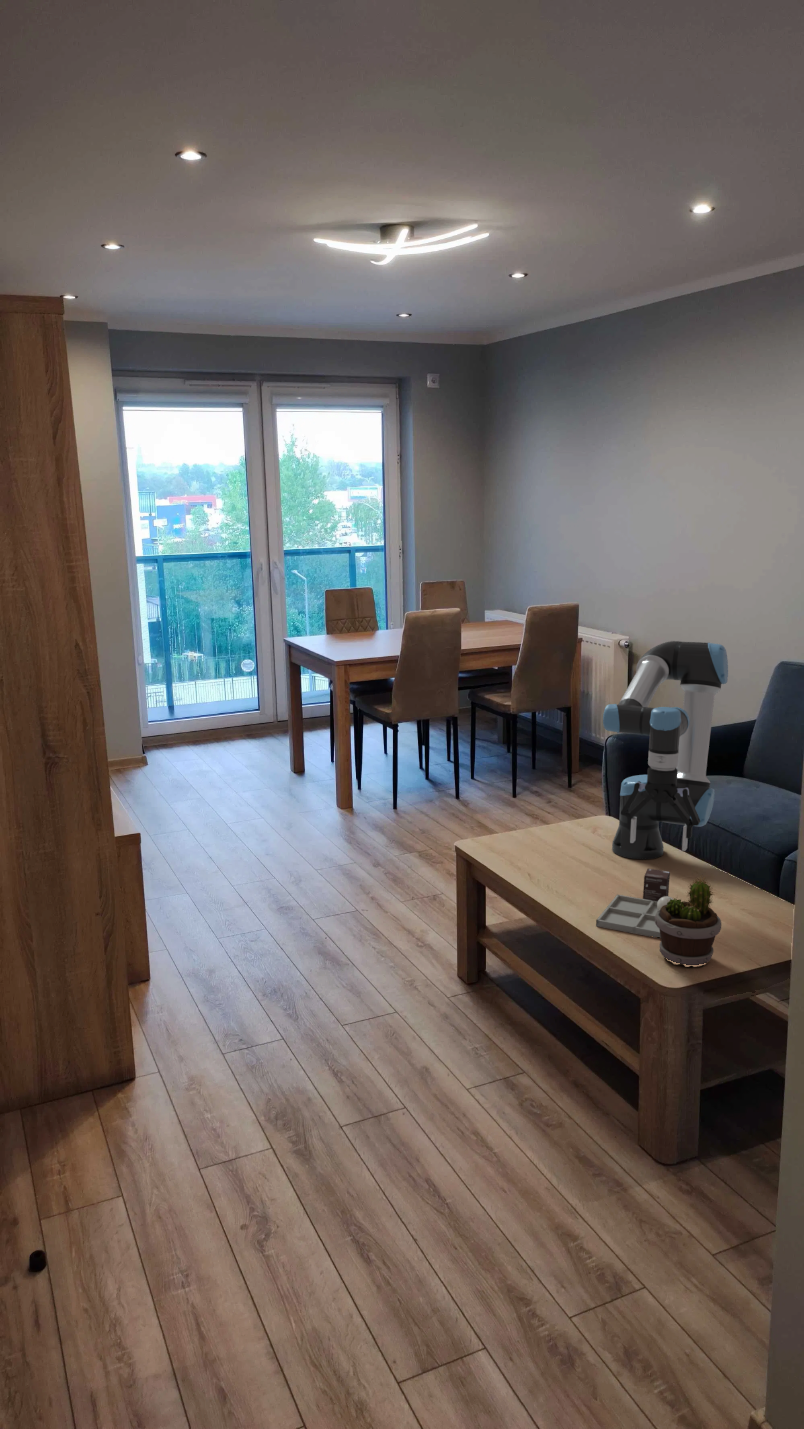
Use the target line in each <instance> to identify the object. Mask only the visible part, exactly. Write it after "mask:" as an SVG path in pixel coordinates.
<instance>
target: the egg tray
mask: <svg viewBox="0 0 804 1429" xmlns="http://www.w3.org/2000/svg"><path fill="white" fill-rule="evenodd" d="M657 912H658V908H657V901H652V900H646V899H643V898H639V897H634V896H628V895H623V894H618V893H617V894H616V896H615V897H614V898H613V899H612V900H611V902H610V903H609V904H608V905H607V907H605V908H604V910H603V911H602V913H600V915H599V916H598V917H597V919H596V922H595V927H599V928H604V929H609V930H614V931H619V932H620V931H621V932H625V933H630V934H635V935H640V936H646V937H650V936H653V937H652V938H655V937H660V929H659V928H658V927H657V926H656V924H655V915H656V913H657ZM660 938H661V937H660ZM660 938H659V939H660Z"/></svg>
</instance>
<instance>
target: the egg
mask: <svg viewBox="0 0 804 1429" xmlns="http://www.w3.org/2000/svg"><path fill="white" fill-rule="evenodd" d="M670 898H671V899H672V900H674V897H671V896H669V895H668V896H664V897H661V898H660V899H659V900H658V902H657V908H658V911H659V910H660V909H661V907H662V906H664V905H667V903H668V902H669V901H670Z"/></svg>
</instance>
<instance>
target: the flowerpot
mask: <svg viewBox="0 0 804 1429" xmlns="http://www.w3.org/2000/svg"><path fill="white" fill-rule="evenodd" d="M702 877H703V875H701V876H698V877H695V879H694V880H692V882H691V883H689V884H688V883H687V888H688V890H686V891H687V892H686V894H687V895H686V897H688V898H687V900H686V899H685V900H684V901H682V899H679V897H678V896H675V897H673V899H674V900H672V899H671V898H672V897H671V898H670V901H669V902H668V903H667V905H664V906H662V907H661V909H660V910H659V911H658V912H657V913H656V915H655V924H656V926H657V927H658V928H659V929H660V937H661V939H660V942H659V952H660V954H661V955H662V956H663V958H664V957H665V958H667V959H668V960H671V961H673V962H676V963H680V964H686V965H699V964H704V963H707V962H709V961H711V960H712V957H713V954H714V947H713V945H714V941H715V939H716V936H717V935H718V934H720V932H721V930H722V920H721V917H720V916H719V915H718V914H717V913H716V912H715V911H714V910H713V909H712V907H711V906H713V901H712V900H713V896H714V892H713V886H712V885H711V884H708V881H707V880H705V879H706V877H705V876H704V877H703V878H702ZM665 958H664V959H665ZM707 964H708V963H707Z"/></svg>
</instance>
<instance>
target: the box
mask: <svg viewBox="0 0 804 1429" xmlns="http://www.w3.org/2000/svg"><path fill="white" fill-rule="evenodd" d="M670 876H671V871H668V870H667V871H666V870H663V869H662V870H661V869H654V868H647V869H646V870H645V873H644V876H643V891H642V892H643V894H642V899H646V900H652V901H657V902H658V900H659V899H660V898H661V897H664V896H669V890H670V889H669V888H670V878H671V877H670Z"/></svg>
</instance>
